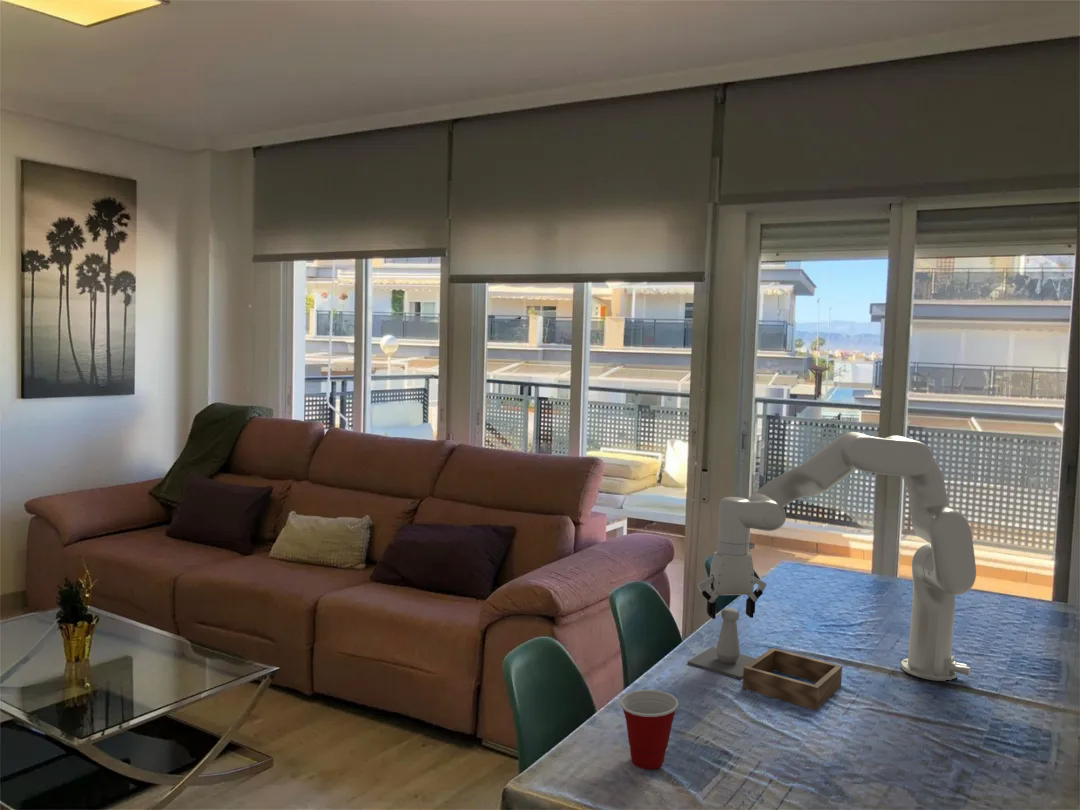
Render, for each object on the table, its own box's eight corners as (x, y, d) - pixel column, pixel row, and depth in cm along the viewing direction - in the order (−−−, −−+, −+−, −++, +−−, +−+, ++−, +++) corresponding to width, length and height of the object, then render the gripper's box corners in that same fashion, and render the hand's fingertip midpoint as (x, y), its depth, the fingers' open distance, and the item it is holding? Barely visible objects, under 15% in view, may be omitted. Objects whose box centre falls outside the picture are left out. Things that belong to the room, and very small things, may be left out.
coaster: (764, 662, 212) (764, 660, 212) (741, 679, 201) (741, 676, 200) (712, 648, 220) (712, 646, 220) (687, 663, 209) (687, 661, 209)
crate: (840, 686, 198) (842, 666, 198) (816, 710, 185) (817, 688, 185) (770, 667, 209) (772, 647, 208) (742, 688, 195) (743, 667, 195)
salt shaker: (739, 666, 207) (742, 614, 206) (715, 663, 208) (718, 611, 207) (738, 658, 213) (741, 607, 212) (715, 655, 214) (718, 604, 213)
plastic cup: (612, 748, 164) (615, 687, 163) (667, 748, 165) (670, 687, 164) (622, 777, 153) (625, 712, 152) (681, 777, 154) (685, 712, 153)
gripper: (761, 544, 213) (758, 611, 214) (694, 544, 211) (691, 612, 212) (773, 551, 206) (770, 620, 207) (704, 552, 203) (701, 622, 204)
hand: (730, 616), depth 209 cm, fingers open, 9 cm apart
